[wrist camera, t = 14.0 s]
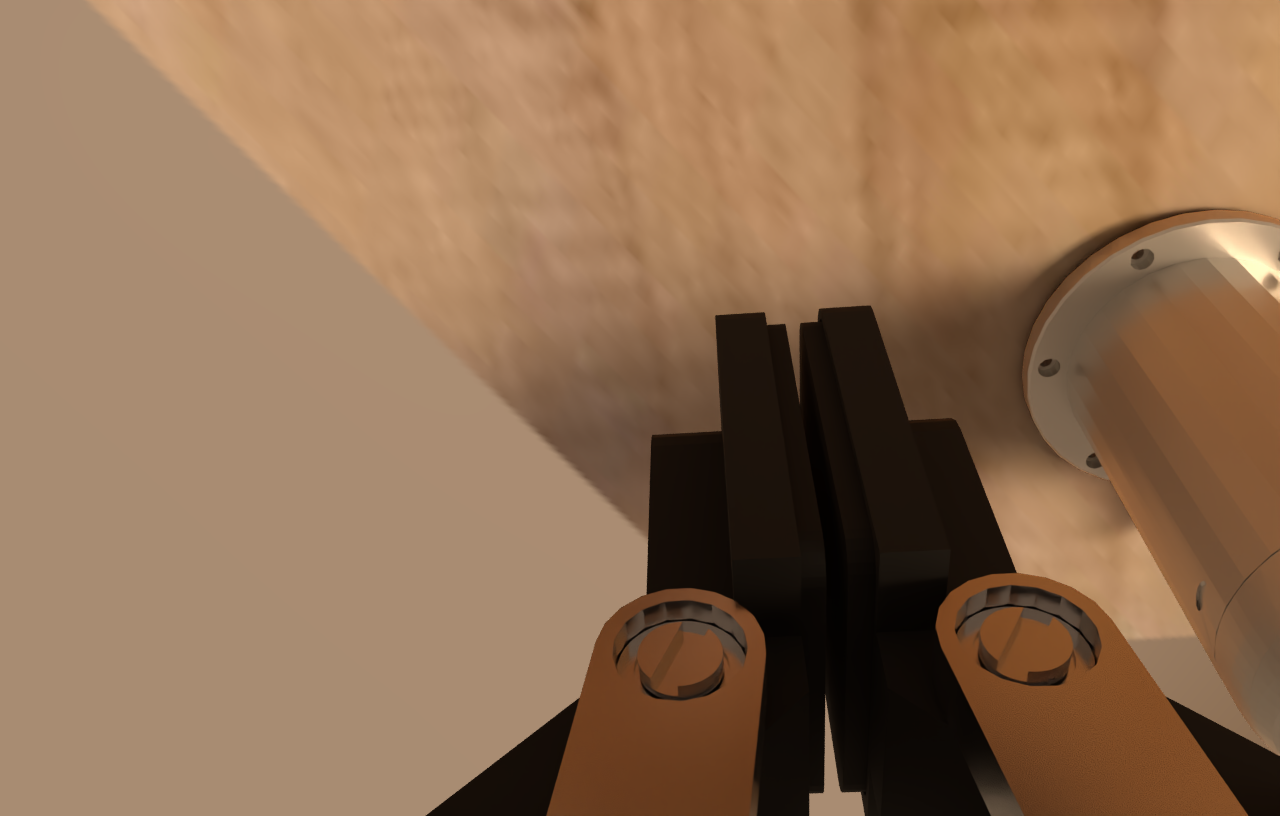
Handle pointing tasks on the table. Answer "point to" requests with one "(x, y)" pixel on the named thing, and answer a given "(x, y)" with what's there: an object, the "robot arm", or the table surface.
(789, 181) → the table surface
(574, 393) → the table surface
